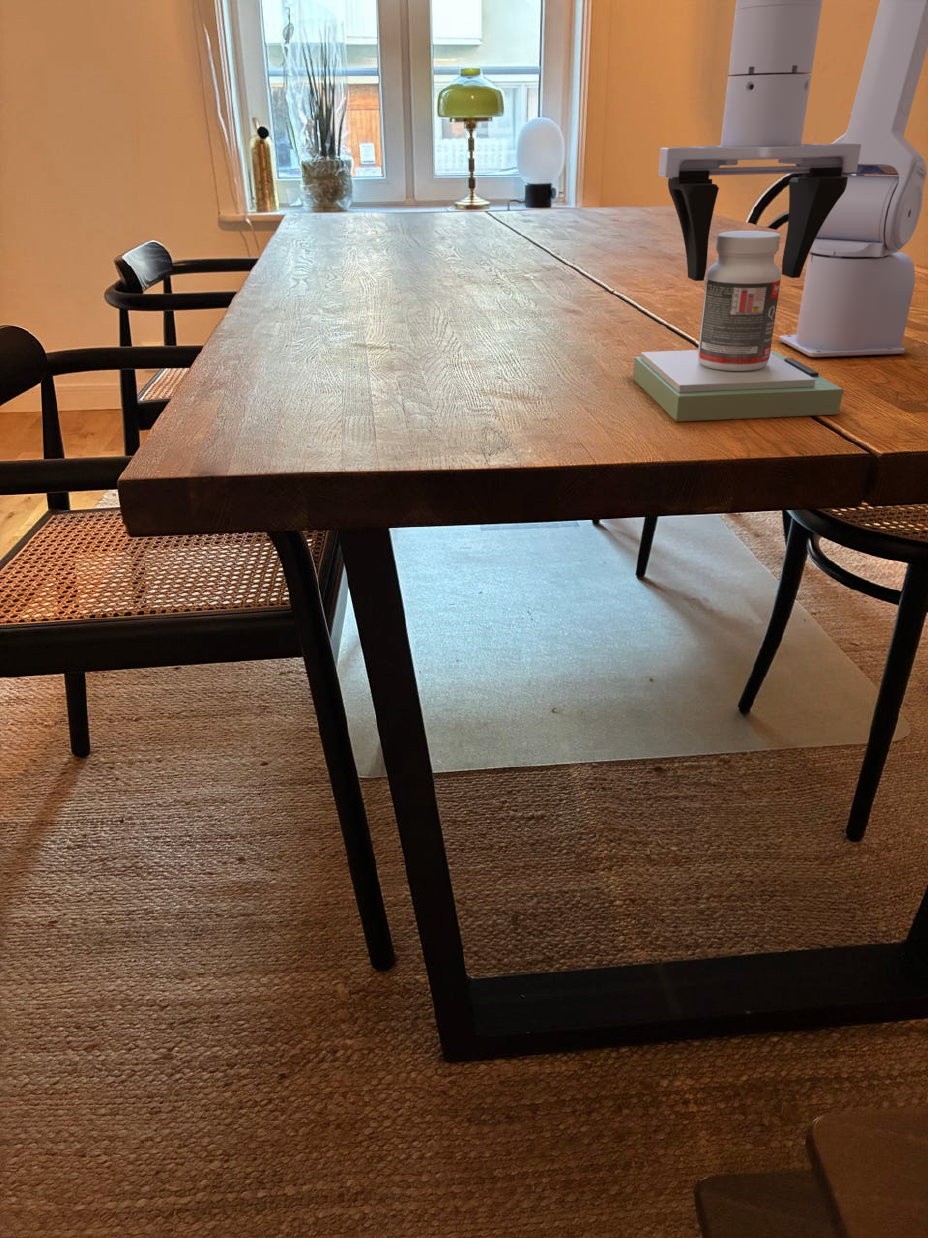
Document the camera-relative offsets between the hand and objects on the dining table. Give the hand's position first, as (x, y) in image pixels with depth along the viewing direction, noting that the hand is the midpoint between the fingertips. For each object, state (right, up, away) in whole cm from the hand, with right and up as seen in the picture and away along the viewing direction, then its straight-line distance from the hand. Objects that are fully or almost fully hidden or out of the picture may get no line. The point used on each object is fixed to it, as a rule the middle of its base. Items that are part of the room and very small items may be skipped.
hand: (743, 277), depth 70 cm
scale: (0, -8, +4) cm, 9 cm away
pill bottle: (0, -6, +3) cm, 7 cm away
